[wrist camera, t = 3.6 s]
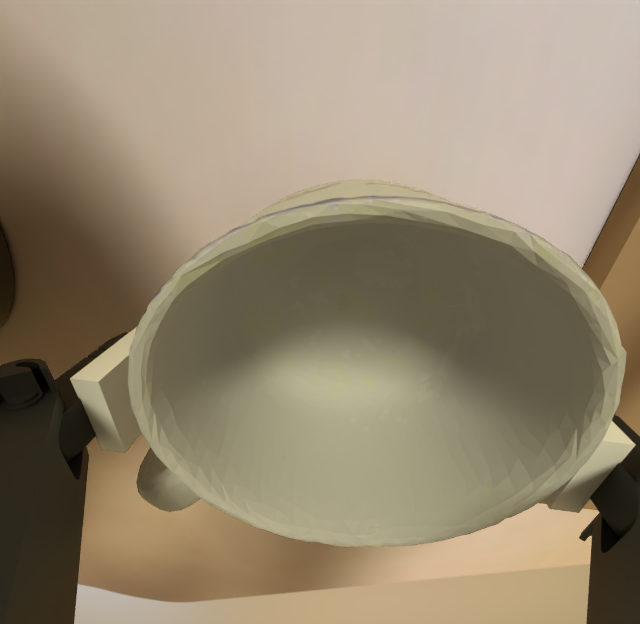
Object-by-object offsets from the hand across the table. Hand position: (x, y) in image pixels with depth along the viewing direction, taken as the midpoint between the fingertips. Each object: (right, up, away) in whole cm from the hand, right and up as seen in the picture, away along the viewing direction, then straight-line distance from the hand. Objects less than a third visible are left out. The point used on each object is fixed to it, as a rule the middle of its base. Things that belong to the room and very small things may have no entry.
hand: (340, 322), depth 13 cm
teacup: (-1, +1, +1) cm, 1 cm away
